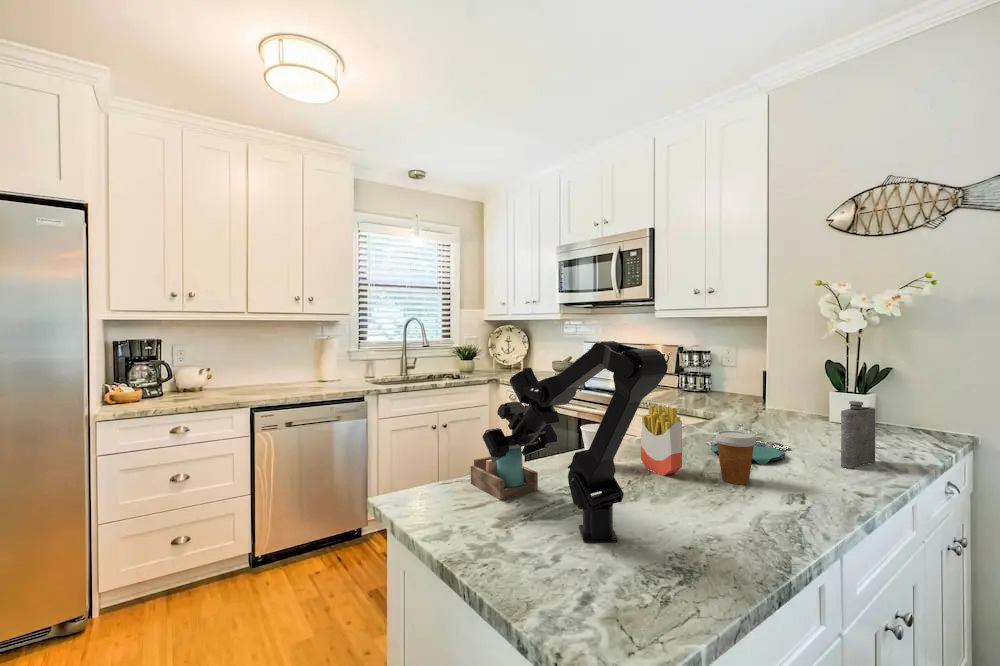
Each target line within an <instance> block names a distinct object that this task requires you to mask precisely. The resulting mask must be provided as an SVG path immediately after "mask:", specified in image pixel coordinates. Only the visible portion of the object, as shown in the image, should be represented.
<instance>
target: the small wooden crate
mask: <svg viewBox="0 0 1000 666" xmlns="http://www.w3.org/2000/svg"><path fill="white" fill-rule="evenodd" d="M486 460H491V456H487V457H481V458H475V459H473V465H470V484H471V485H472V486H474V487H477V488H478V489H480V490H482V491H484V492H485V493H487V494H489V495H490V496H492V497H494V498H496V499H498V500H499V501H502V499H503V500H505V499H510V498H515V497H517V496H521V495H525V494H530V493H533V491H534V492H537V490H538V489H539V485H538V484H539V482H538V481H539V479H538V478H539V474H538V471H535V470H534V469H533V470H532V469H530V468H529V467H526V466H524V465H523V475H524V484H523V485H521V486H517V487H504V480H503V479H501V478H499V477H497V476H495V475H492V474H490V473H488V472H486ZM538 491H539V490H538ZM529 492H530V493H529Z"/></svg>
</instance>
